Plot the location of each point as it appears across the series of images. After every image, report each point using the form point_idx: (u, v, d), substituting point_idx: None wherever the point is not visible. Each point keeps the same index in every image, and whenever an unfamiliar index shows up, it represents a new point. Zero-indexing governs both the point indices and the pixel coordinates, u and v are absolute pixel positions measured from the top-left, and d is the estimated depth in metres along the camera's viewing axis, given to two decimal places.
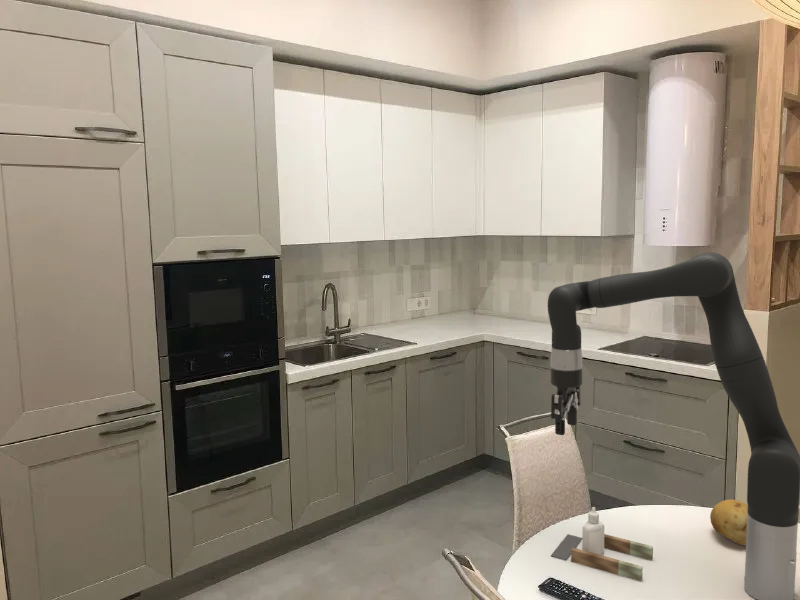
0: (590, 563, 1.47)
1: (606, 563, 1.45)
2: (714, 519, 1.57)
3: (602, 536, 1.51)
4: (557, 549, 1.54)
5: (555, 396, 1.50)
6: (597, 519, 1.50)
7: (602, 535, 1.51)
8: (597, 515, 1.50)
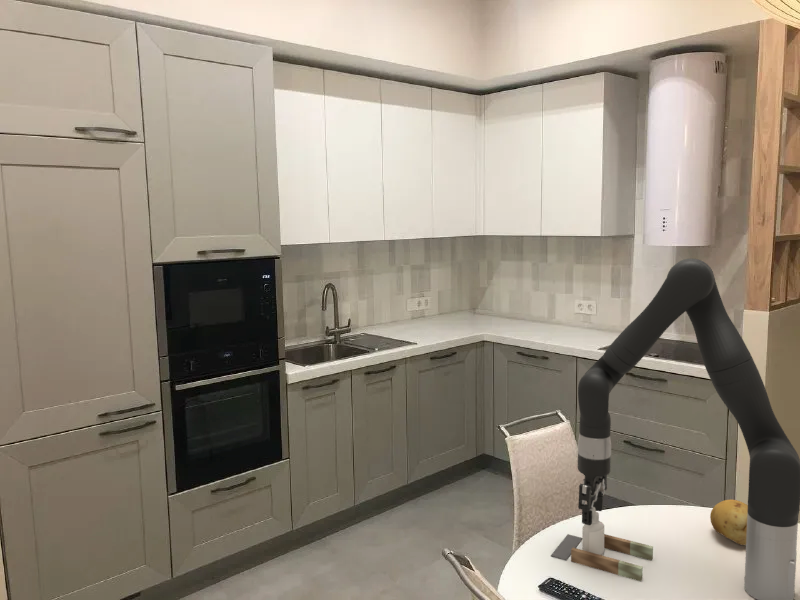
0: (590, 563, 1.47)
1: (606, 563, 1.45)
2: (714, 519, 1.57)
3: (602, 536, 1.51)
4: (557, 549, 1.54)
5: (583, 486, 1.44)
6: (597, 519, 1.50)
7: (602, 535, 1.51)
8: (597, 515, 1.50)
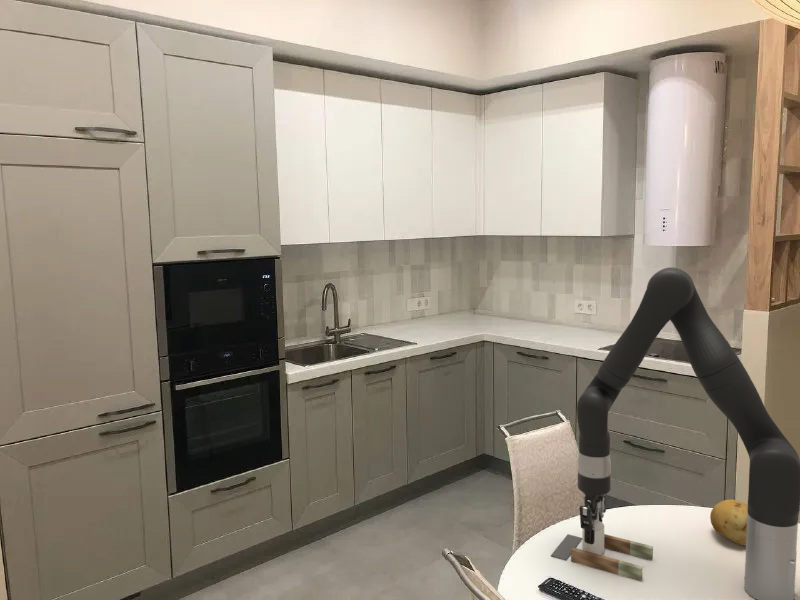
0: (590, 563, 1.47)
1: (606, 563, 1.45)
2: (714, 519, 1.57)
3: (602, 536, 1.51)
4: (557, 549, 1.54)
5: (583, 509, 1.45)
6: None
7: (602, 535, 1.51)
8: None
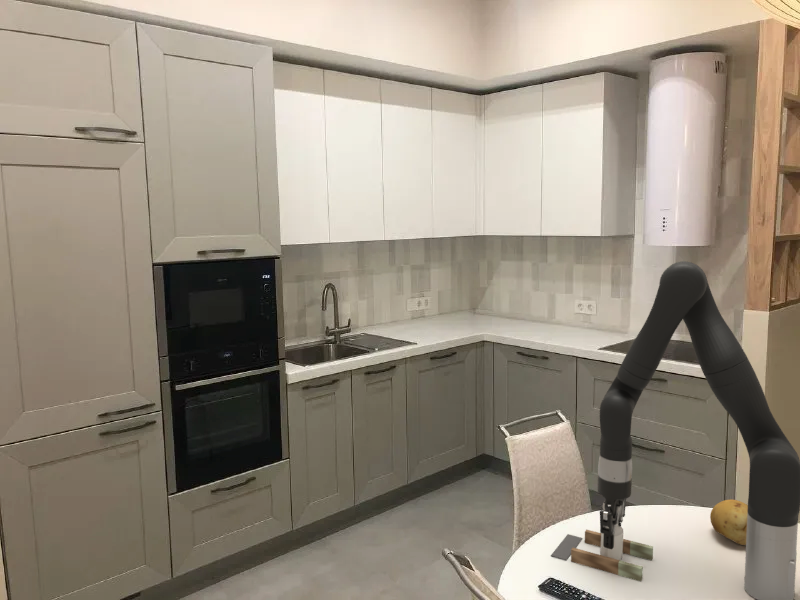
0: (590, 563, 1.47)
1: (606, 563, 1.45)
2: (714, 519, 1.57)
3: (621, 541, 1.48)
4: (557, 549, 1.54)
5: (604, 513, 1.42)
6: (617, 524, 1.47)
7: (621, 540, 1.48)
8: None
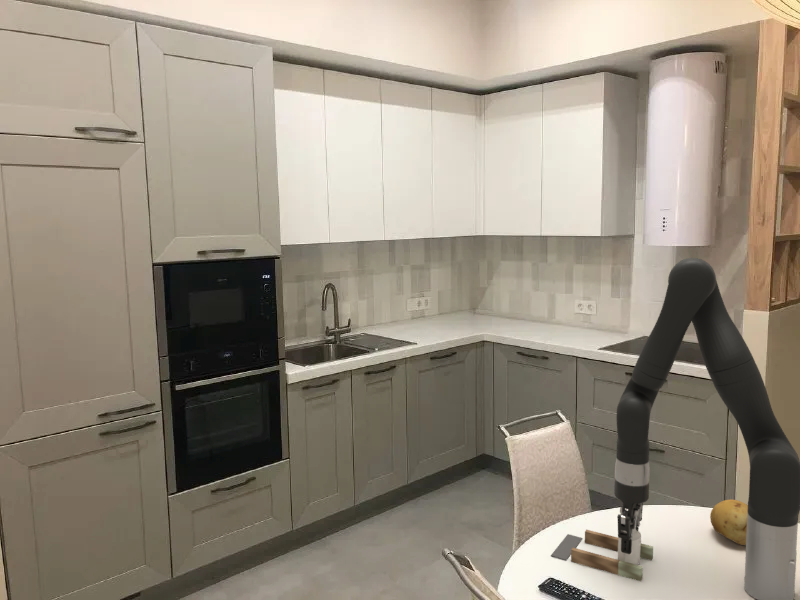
0: (590, 563, 1.47)
1: (606, 563, 1.45)
2: (714, 519, 1.57)
3: (639, 545, 1.46)
4: (557, 549, 1.54)
5: (621, 518, 1.40)
6: None
7: (639, 544, 1.46)
8: None
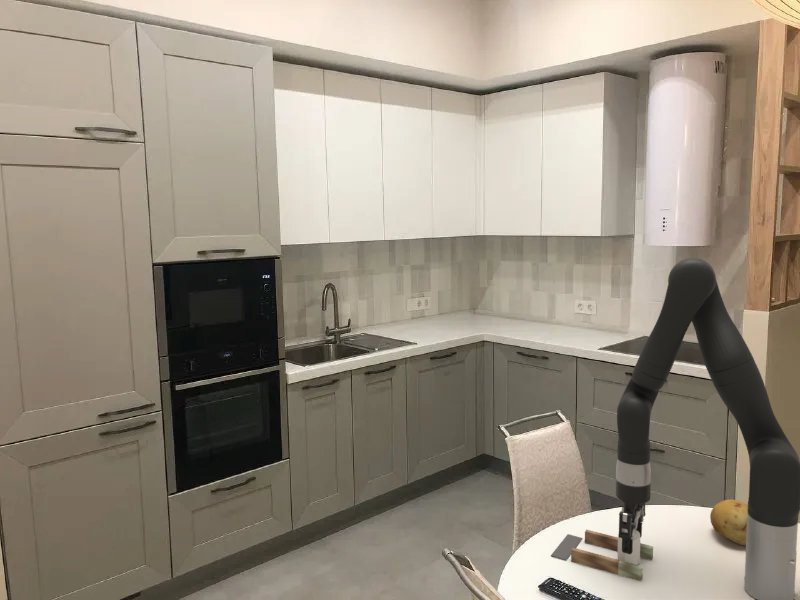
0: (590, 563, 1.47)
1: (606, 563, 1.45)
2: (714, 519, 1.57)
3: (638, 545, 1.46)
4: (557, 549, 1.54)
5: (623, 514, 1.40)
6: None
7: (638, 544, 1.46)
8: None
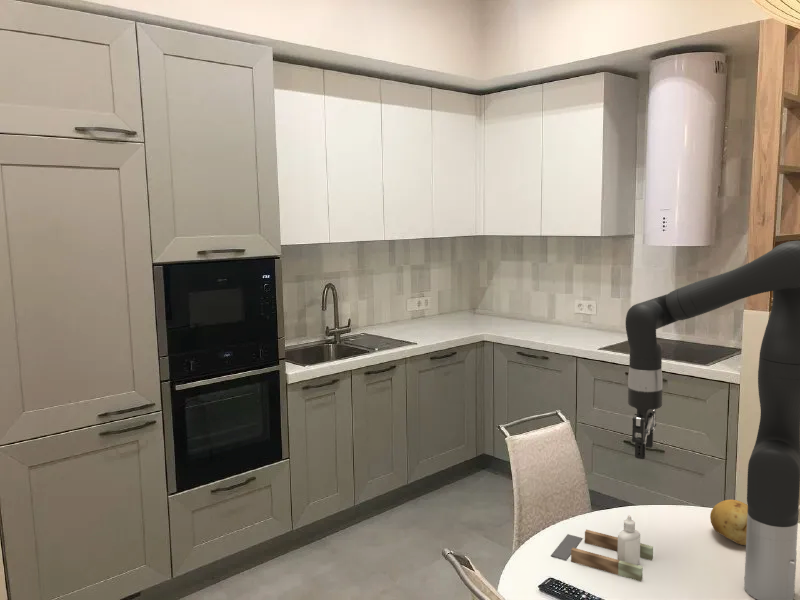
0: (590, 563, 1.47)
1: (606, 563, 1.45)
2: (714, 519, 1.57)
3: (638, 545, 1.46)
4: (557, 549, 1.54)
5: (637, 419, 1.43)
6: (633, 528, 1.45)
7: (638, 544, 1.46)
8: (633, 524, 1.45)
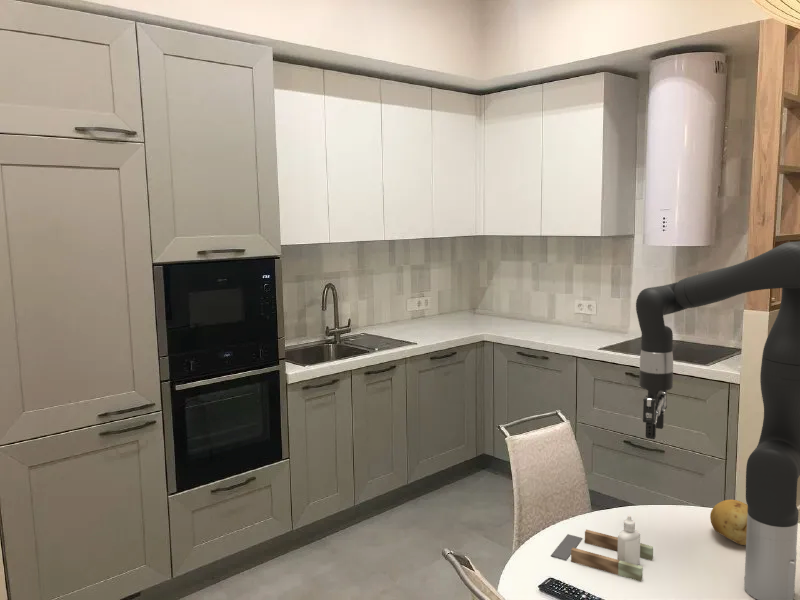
0: (590, 563, 1.47)
1: (606, 563, 1.45)
2: (714, 519, 1.57)
3: (638, 545, 1.46)
4: (557, 549, 1.54)
5: (647, 399, 1.48)
6: (633, 528, 1.45)
7: (638, 544, 1.46)
8: (633, 524, 1.45)
